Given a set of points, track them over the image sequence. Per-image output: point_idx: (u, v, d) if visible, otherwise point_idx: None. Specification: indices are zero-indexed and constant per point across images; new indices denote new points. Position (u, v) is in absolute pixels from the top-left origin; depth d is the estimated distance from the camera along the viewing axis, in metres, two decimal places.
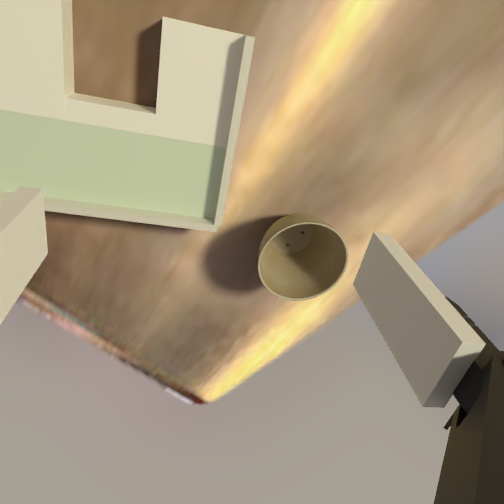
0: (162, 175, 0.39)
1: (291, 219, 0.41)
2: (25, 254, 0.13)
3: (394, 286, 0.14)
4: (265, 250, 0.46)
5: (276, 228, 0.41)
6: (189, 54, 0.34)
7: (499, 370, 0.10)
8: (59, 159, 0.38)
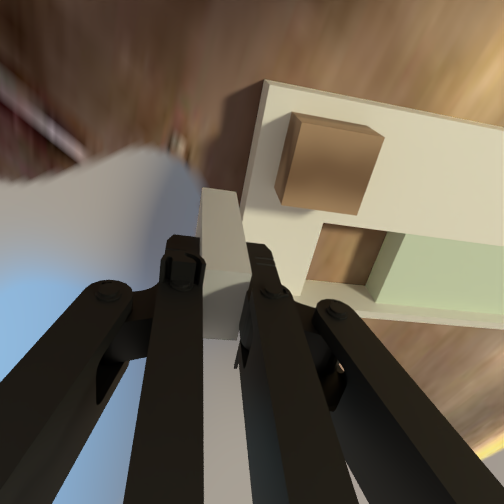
0: None
1: None
2: None
3: None
4: None
5: None
6: None
7: (261, 303, 0.11)
8: (474, 278, 0.39)
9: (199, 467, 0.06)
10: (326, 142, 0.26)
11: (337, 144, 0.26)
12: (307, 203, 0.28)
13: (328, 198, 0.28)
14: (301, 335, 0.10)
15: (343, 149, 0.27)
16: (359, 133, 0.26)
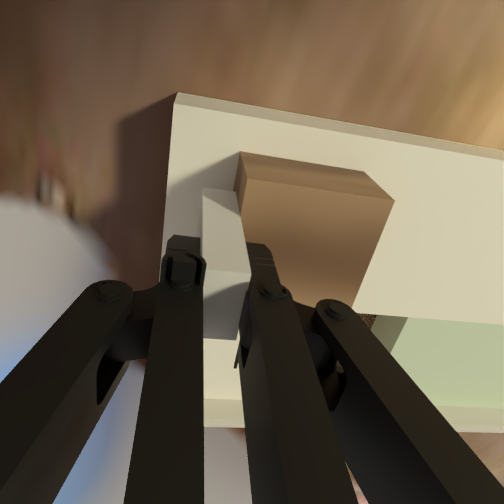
0: None
1: None
2: None
3: None
4: None
5: None
6: None
7: (260, 303, 0.11)
8: None
9: (199, 467, 0.06)
10: (294, 210, 0.15)
11: (312, 212, 0.15)
12: None
13: (300, 294, 0.17)
14: (301, 335, 0.10)
15: (323, 221, 0.15)
16: (350, 194, 0.15)
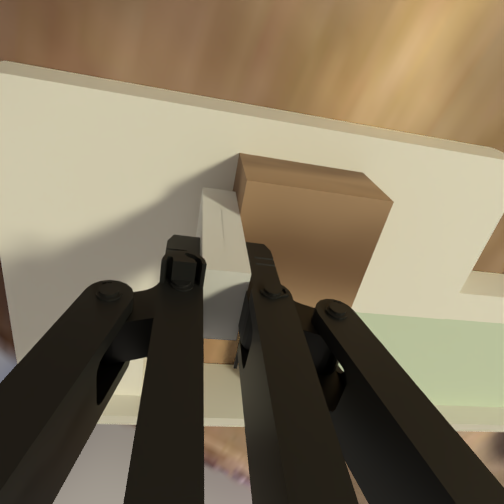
0: None
1: None
2: None
3: None
4: None
5: None
6: None
7: (260, 303, 0.11)
8: (410, 362, 0.26)
9: (199, 467, 0.06)
10: (293, 211, 0.15)
11: (311, 214, 0.15)
12: None
13: (299, 295, 0.17)
14: (301, 335, 0.10)
15: (322, 222, 0.16)
16: (349, 196, 0.15)
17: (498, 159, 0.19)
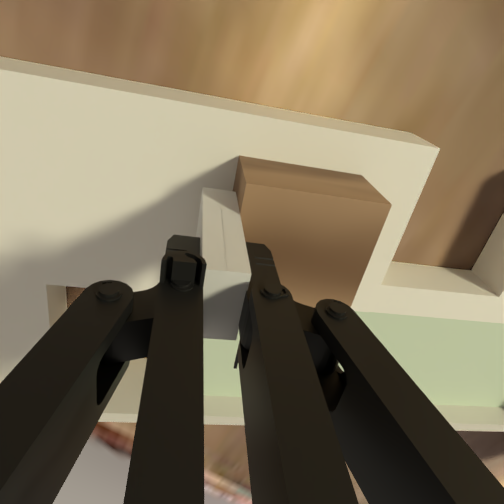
0: (470, 366, 0.27)
1: None
2: None
3: None
4: None
5: None
6: None
7: (260, 303, 0.11)
8: None
9: (200, 467, 0.06)
10: (292, 214, 0.15)
11: (310, 216, 0.15)
12: None
13: (298, 296, 0.17)
14: (301, 335, 0.10)
15: (321, 224, 0.16)
16: (348, 199, 0.15)
17: (405, 142, 0.18)
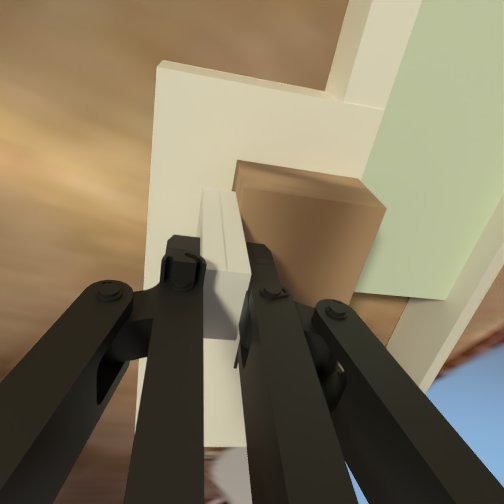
0: None
1: None
2: None
3: None
4: None
5: None
6: None
7: (260, 303, 0.11)
8: (453, 139, 0.18)
9: (200, 467, 0.06)
10: None
11: None
12: (346, 287, 0.18)
13: (343, 259, 0.17)
14: (301, 335, 0.10)
15: None
16: None
17: (154, 112, 0.16)
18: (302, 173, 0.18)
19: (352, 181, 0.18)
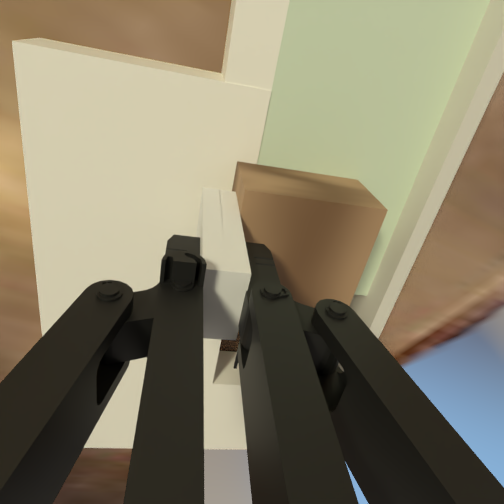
0: None
1: None
2: None
3: None
4: None
5: None
6: None
7: (260, 303, 0.11)
8: (351, 123, 0.17)
9: (200, 467, 0.06)
10: None
11: None
12: (347, 289, 0.18)
13: (344, 261, 0.17)
14: (301, 335, 0.10)
15: None
16: None
17: (18, 91, 0.15)
18: (302, 174, 0.18)
19: (352, 182, 0.18)
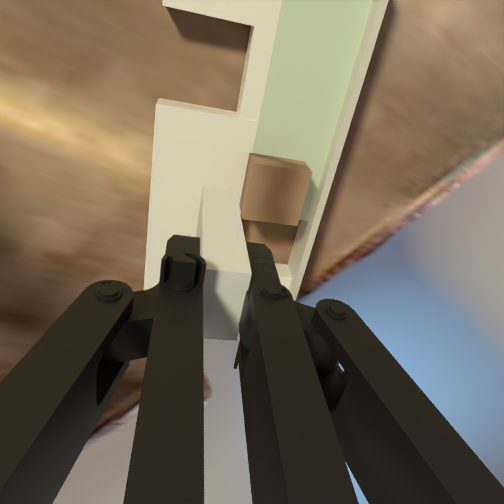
0: (321, 26, 0.35)
1: None
2: None
3: None
4: None
5: None
6: None
7: (260, 303, 0.11)
8: (293, 135, 0.40)
9: (199, 467, 0.06)
10: (255, 202, 0.39)
11: (257, 195, 0.39)
12: (298, 209, 0.40)
13: (295, 195, 0.39)
14: (301, 335, 0.10)
15: (261, 190, 0.39)
16: (250, 181, 0.38)
17: (155, 122, 0.38)
18: (278, 158, 0.40)
19: (301, 162, 0.41)
